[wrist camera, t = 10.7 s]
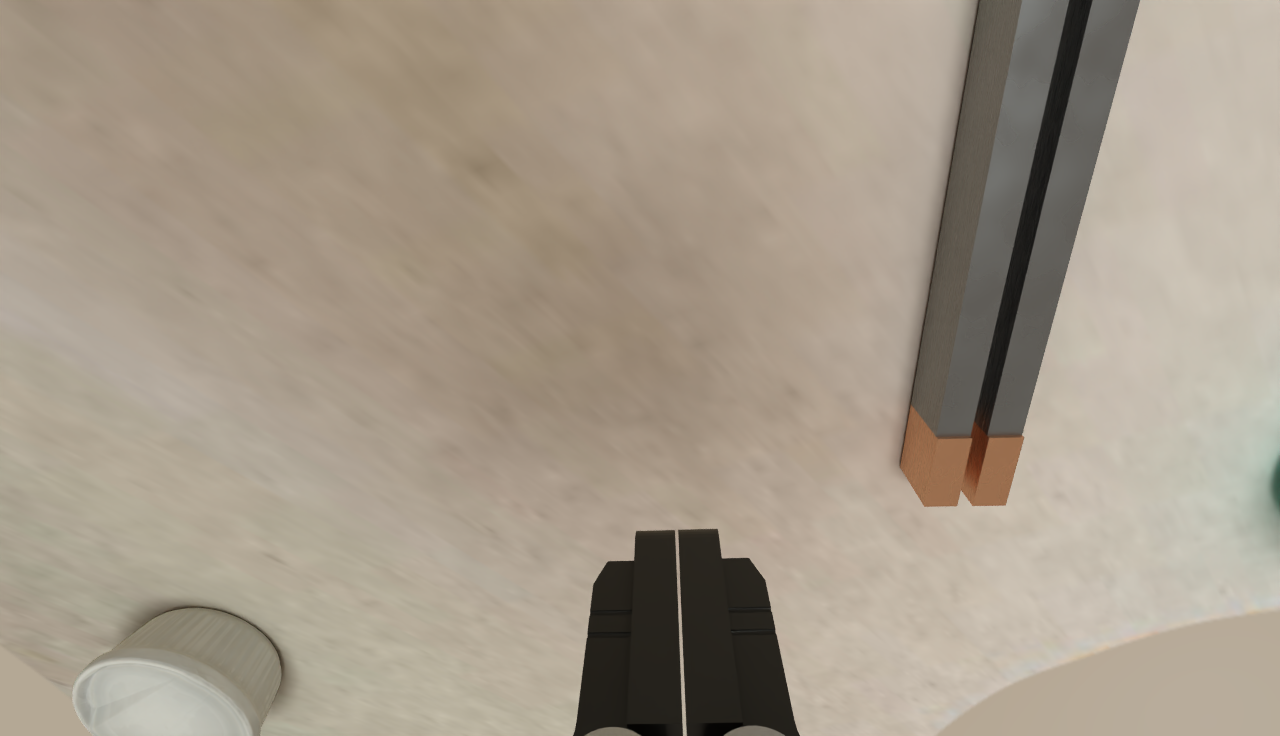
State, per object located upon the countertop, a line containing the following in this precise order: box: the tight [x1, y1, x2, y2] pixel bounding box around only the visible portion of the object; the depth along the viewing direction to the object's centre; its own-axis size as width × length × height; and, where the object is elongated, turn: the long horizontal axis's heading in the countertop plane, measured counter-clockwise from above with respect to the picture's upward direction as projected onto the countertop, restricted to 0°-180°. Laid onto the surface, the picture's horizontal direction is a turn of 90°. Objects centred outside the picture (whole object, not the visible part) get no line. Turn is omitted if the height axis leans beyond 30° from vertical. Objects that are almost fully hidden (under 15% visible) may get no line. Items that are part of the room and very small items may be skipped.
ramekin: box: [72, 608, 282, 736], centre depth 40 cm, size 11×11×5 cm
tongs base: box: [961, 0, 1140, 506], centre depth 25 cm, size 28×4×4 cm, turn 3°
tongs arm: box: [900, 0, 1069, 507], centre depth 26 cm, size 24×2×3 cm, turn 3°
